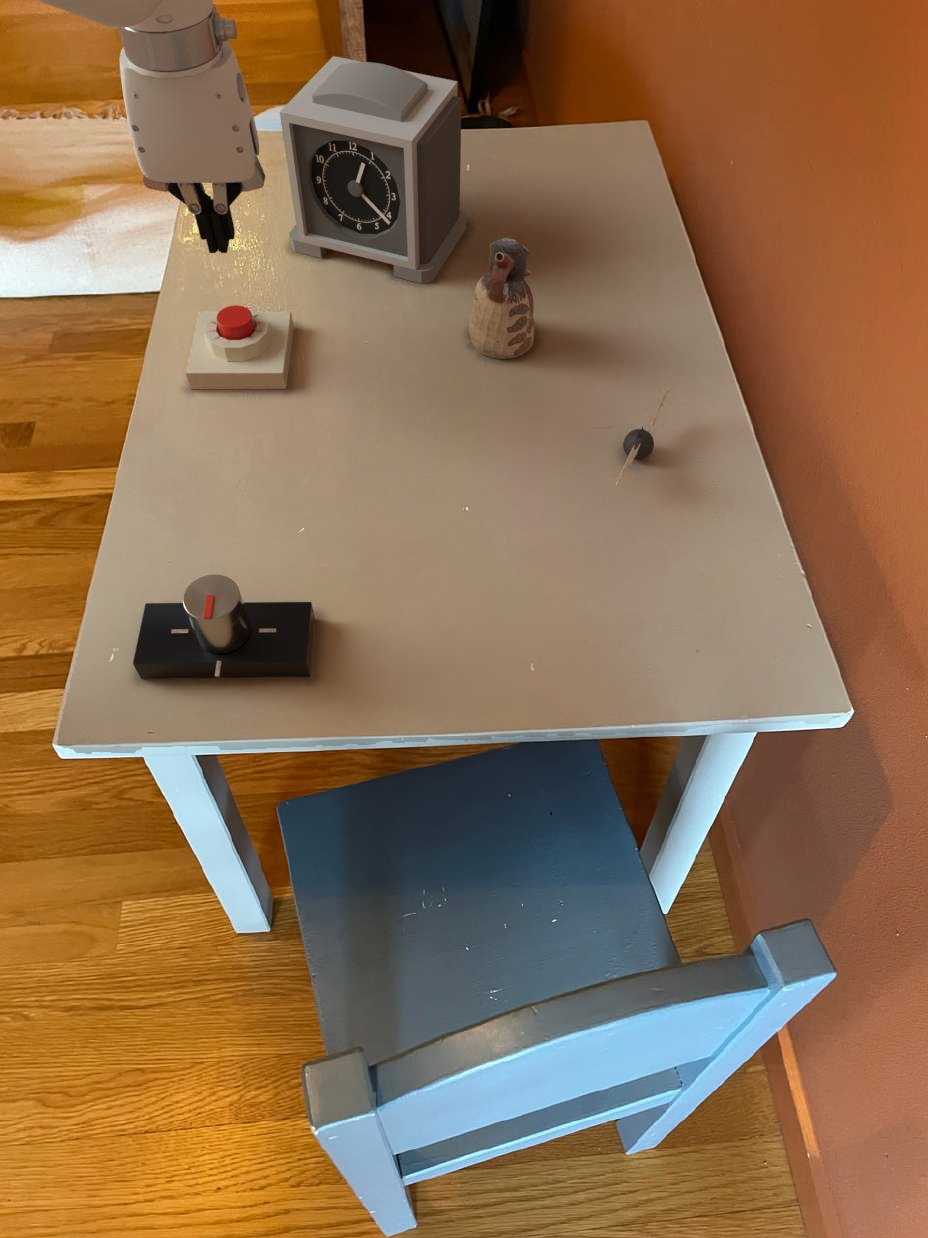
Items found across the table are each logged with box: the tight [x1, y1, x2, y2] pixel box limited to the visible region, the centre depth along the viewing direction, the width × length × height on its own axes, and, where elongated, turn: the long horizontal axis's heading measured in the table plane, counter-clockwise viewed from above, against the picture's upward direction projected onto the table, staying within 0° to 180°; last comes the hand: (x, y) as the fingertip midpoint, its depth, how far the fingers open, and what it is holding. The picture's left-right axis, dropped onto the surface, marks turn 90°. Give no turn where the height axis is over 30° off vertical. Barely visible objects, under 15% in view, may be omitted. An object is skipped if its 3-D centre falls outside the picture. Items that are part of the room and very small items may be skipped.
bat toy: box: [615, 387, 672, 486], centre depth 89 cm, size 3×15×5 cm, turn 153°
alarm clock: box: [279, 55, 467, 284], centre depth 103 cm, size 18×13×18 cm
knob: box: [182, 574, 251, 654], centre depth 73 cm, size 4×4×5 cm
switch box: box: [185, 306, 295, 390], centre depth 96 cm, size 10×10×4 cm
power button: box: [217, 304, 255, 340], centre depth 94 cm, size 4×4×2 cm
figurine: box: [468, 237, 536, 360], centre depth 95 cm, size 7×7×12 cm
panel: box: [132, 601, 316, 680], centre depth 76 cm, size 14×9×3 cm, turn 91°
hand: (220, 243), depth 87 cm, fingers closed
